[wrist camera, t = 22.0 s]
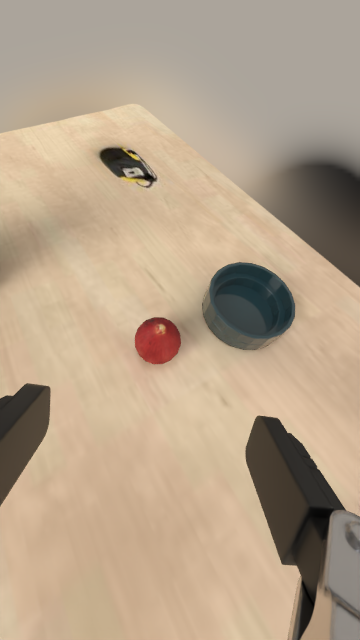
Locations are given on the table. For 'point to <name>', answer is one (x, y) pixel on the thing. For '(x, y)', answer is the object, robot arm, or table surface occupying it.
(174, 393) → the table surface
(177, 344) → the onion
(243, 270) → the bowl
